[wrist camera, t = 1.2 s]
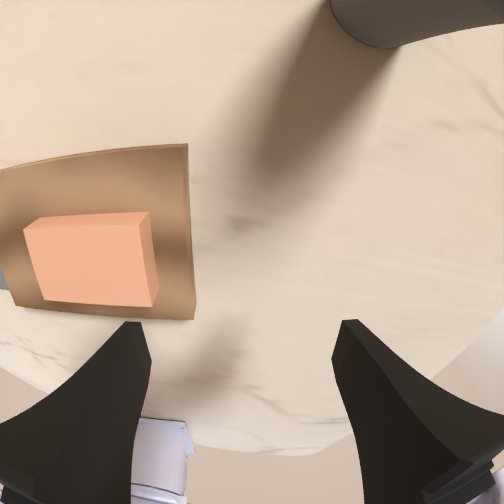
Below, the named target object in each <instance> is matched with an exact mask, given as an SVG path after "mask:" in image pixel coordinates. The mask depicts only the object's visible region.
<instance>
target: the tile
mask: <svg viewBox="0 0 504 504" xmlns="http://www.w3.org/2000/svg"><path fill="white" fill-rule="evenodd" d="M23 232H24V236H25V240H26V244H27V247H28V251H29V255H30V258H31V261H32V265H33V268H34V271H35V274H36V277H37V280H38V283H39V286H40V289H41V292H42V295H43V297H44V300H50V301H61V302H72V303H85V304H99V305H115V306H134V307H152V306H153V303H154V301H155V298H156V295H157V293H158V290H159V284H158V277H157V271H156V264H155V257H154V249H153V241H152V232H151V223H150V213H149V212H127V213H104V214H85V215H69V216H54V217H41V218H39V219H37V220H36V221H34V222H33V223H31V224H30V225H29V226H27V227H26V228H24V229H23Z"/></svg>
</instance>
